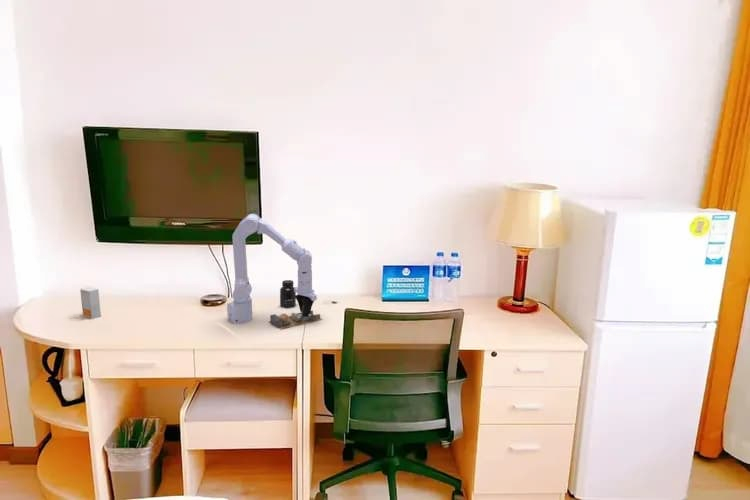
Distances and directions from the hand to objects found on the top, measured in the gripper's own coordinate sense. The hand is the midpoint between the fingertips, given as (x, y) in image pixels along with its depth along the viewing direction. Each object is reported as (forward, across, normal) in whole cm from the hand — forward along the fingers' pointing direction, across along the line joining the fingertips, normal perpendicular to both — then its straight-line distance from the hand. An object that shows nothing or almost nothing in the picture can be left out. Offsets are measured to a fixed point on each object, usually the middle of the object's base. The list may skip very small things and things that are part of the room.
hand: (305, 312), depth 230 cm
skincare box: (+4, +55, +69) cm, 88 cm away
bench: (+3, 0, +5) cm, 6 cm away
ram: (+2, 0, +2) cm, 3 cm away
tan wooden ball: (+2, 0, +10) cm, 10 cm away
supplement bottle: (+4, +18, -2) cm, 18 cm away
